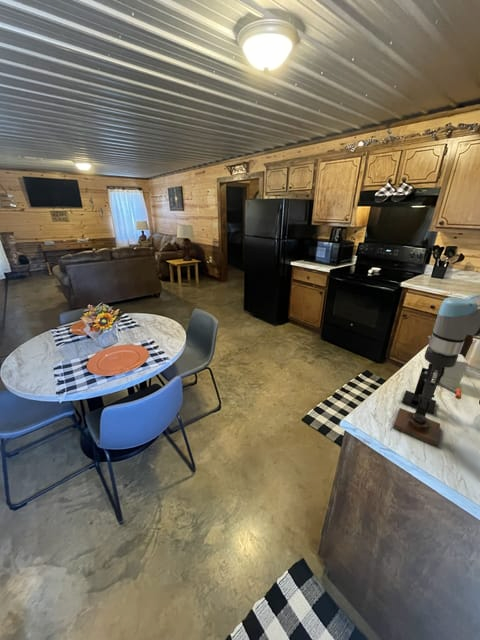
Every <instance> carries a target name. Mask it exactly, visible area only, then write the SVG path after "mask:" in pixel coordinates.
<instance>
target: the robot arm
mask: <svg viewBox="0 0 480 640" xmlns="http://www.w3.org/2000/svg"><path fill="white" fill-rule="evenodd" d="M467 335H472V336H473V337H480V294H471V295H468V296H466V297H465V298H463V297H457V296H452V297H451V296H450V297H446V298H445V299H443V301H442V303H441V304H440V307H439V310H438V312H437V316H436V320H435V322H434V326H433V330H432V332H431V335H428V336H427V339H428V340H429V342H428V346H427V347H426V351H425V353H424V356H423V357H424V359H425V361H427V362H428V366H427V369H428V370H427V376H426V383H425V386H424V387H423V389H424V390H423V391H422V394H419V397H420V400H419V403H418V406H417V409H416V408H415V412H414V413H418V414H420V415H423V416H425V417H426V416H427V414H428V413H427V410H428V407H429V404H430V402H431V401H432V400H433V398H434V399H435V392H436V390H437V387H438V386H439V385H438V383H439V382H440V380H441V377H442V376H443V375H444V372H445V371H444V370H445V367H447V368H449V367H453V366H454V365H455V364H456V361H457V358H458V354H459V353H460V351H461V349H462V346H463V343H464V340H465V338H466V336H467Z"/></svg>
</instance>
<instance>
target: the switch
mask: <svg viewBox="0 0 480 640" xmlns="http://www.w3.org/2000/svg"><path fill="white" fill-rule="evenodd" d="M424 373H426V374H427V371H425V372H424ZM437 386H440V387H442V388H443V389H445V390H447V391H449V392H450V393H452V394H455V397H454V398H455V399H457V400H461V399H462V393H463V392H462V388H459V387H458V388H457V389H456V388H451V387H449V386H448V385H446V384H444V383H442V382H439V383H438V385H437Z"/></svg>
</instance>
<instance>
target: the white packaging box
mask: <svg viewBox="0 0 480 640" xmlns="http://www.w3.org/2000/svg"><path fill="white" fill-rule="evenodd" d="M468 364H469V363H468V361H467V360H466V357H465V358H464V357H463V355H461V354H458V358H457V361H456V364H455V365H454V366H453V367H449V368H447V367H445V370H444V371H445V372H444V375H443V376H442V377H441V380H440V382H442V383H444V384H446V385H448V386H449V387H451V388H453V389H455V390H456V389H457V388H459V387H460V384H461V382H462V380H463V376H464V375H465V372H466V369H467V366H468Z"/></svg>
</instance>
